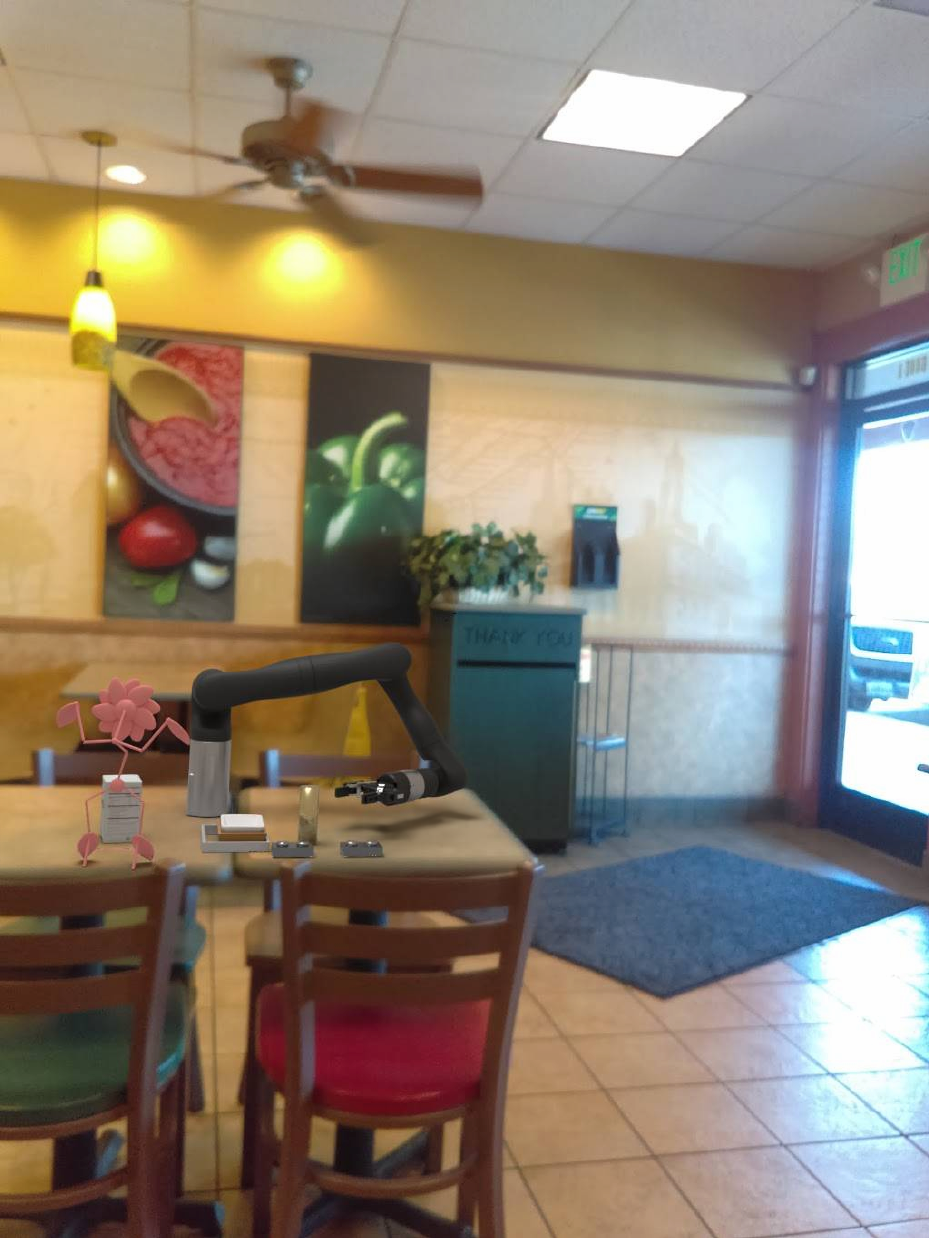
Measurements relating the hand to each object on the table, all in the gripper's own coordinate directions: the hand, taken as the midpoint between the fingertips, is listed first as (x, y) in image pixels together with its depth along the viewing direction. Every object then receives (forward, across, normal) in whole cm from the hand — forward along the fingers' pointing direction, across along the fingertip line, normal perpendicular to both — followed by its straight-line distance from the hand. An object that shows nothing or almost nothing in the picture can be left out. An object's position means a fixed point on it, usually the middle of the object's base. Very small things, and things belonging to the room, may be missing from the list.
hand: (349, 796), depth 232 cm
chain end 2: (+8, +13, +9) cm, 18 cm away
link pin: (+12, 0, +9) cm, 14 cm away
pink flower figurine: (+48, -12, +8) cm, 50 cm away
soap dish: (+22, -9, +9) cm, 25 cm away
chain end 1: (+20, +5, +8) cm, 22 cm away
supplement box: (+40, -26, +8) cm, 48 cm away
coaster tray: (+23, -10, +8) cm, 26 cm away
